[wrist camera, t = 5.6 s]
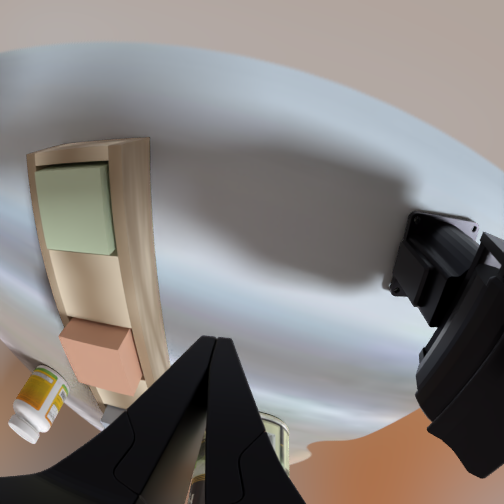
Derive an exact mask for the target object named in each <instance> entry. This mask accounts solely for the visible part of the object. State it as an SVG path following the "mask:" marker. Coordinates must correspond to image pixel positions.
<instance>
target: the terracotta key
mask: <svg viewBox="0 0 504 504" xmlns="http://www.w3.org/2000/svg"><path fill="white" fill-rule="evenodd" d="M59 339H60V341H61V344H62V346H63V348H64V351H65V353H66V355H67V358H68V360H69V362H70V364H71V366H72V369H73V371H74V373H75V375H76V377H77V379H78V381H79V382H81V383H84V384H87V385H91V386H94V387H98V388H101V389H105V390H109V391H112V392H116V393H120V394H124V395H129V396H133V397H134V394H135V392H136V389H137V387H138V384H139V382H140V380H141V377H142V375H143V371H142V367H141V364H140V360H139V356H138V352H137V348H136V344H135V340H134V336H133V332H132V328H127V327H121V326H116V325H110V324H105V323H100V322H95V321H90V320H85V319H80V318H76V317H73V318H72V319H71V320H70V322H69V323H68V324H67V325H66V327H65V328H64V329H63V331H62V332H61V333H60V335H59Z"/></svg>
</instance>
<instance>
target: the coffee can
mask: <svg viewBox="0 0 504 504" xmlns="http://www.w3.org/2000/svg"><path fill="white" fill-rule="evenodd" d="M259 413H260V412H259ZM260 416H261V419H262V421H263V424H264V426H265V429H266V432H267V433H268V436H269V438H270V441H271V443H272V446H273V448H274V450H275V452H276V454H277V456H278V459H279V461H280V462H281V464H282V466H283V468H284V470H285V471H286V473H287V475H288V477H289V429H288V427H287V425H286V424H285V423H284V422H283V421H281V420H280V419H278V418H276V417H274V416H271V415H268V414H264V413H260ZM205 446H206V428H205V432H204V436H203V439H202V443H201V446H200V450H199V454H198V457H197V461H196V464H195V468H194V472H193V477H192V483H191V488H190V493H189V499H188V504H205Z"/></svg>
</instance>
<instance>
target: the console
mask: <svg viewBox="0 0 504 504" xmlns="http://www.w3.org/2000/svg"><path fill="white" fill-rule="evenodd" d="M26 156H27V167H28V177H29V185H30V193H31V200H32V206H33V213H34V218H35V224H36V229H37V234H38V239H39V243H40V248H41V252H42V256H43V260H44V264H45V268H46V272H47V275H48V279H49V282H50V286H51V289H52V293H53V296H54V299H55V302H56V305H57V308H58V311H59V314H60V317H61V320H62V323H63V325H64V328H65V327H66V325H67V324H68V323H69V322H70V320H71V319H72V318H73V317H76V318H80V319H85V320H90V321H95V322H100V323H105V324H110V325H116V326H121V327H127V328H132V332H133V336H134V340H135V344H136V348H137V352H138V356H139V360H140V364H141V367H142V371H143V375H142V377H141V380H140V382H139V384H138V387H137V389H136V392H135V394H134V397H133V396H129V395H124V394H120V393H116V392H112V391H109V390H105V389H101V388H98V387H94V386H91V385H89V387H90V389H91V391H92V393H93V395H94V397H95V399H96V401H97V403H98V405H99V407H100V409H101V410H102V412H103V414H104V412H105V409H106V407H107V405H111V406H115V407H119V408H122V409H126V410H127V408H128V407H129V406H130V405H131V404H132V403H133V402H134V401H136V400H137V399H138V398H139V397H140V396H141V395H142V394H143V393H144V392H145V391H146V390H147V389H148V388H149V387H150V386H151V385H152V384H153V383H154V382H155V381H156V380H157V379H158V378H159V377H160V376H161V375H162V374H163V373H164V372H165V371H166V370H167V369H169V368H170V367H171V366H170V361H169V355H168V349H167V343H166V337H165V331H164V324H163V317H162V310H161V302H160V295H159V286H158V278H157V268H156V258H155V248H154V236H153V222H152V205H151V184H150V137H145V138H125V139H110V140H98V141H87V142H77V143H69V144H61V145H58V146H54V147H50V148H47V149H43V150H40V151H36V152H33V153H30V154H27V155H26ZM106 160H109V178H110V192H111V203H112V213H113V222H114V231H115V239H116V246H117V248H116V249H115V250H114V251H113V252H112V253H111V254H110V255H103V254H92V253H82V252H72V251H62V250H53V249H47V246H46V242H45V237H44V232H43V227H42V221H41V216H40V210H39V203H38V196H37V189H36V181H35V172H37V171H39V170H42V169H44V168H47V167H50V166H52V165H55V164H61V163H73V162H88V161H106Z"/></svg>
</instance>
